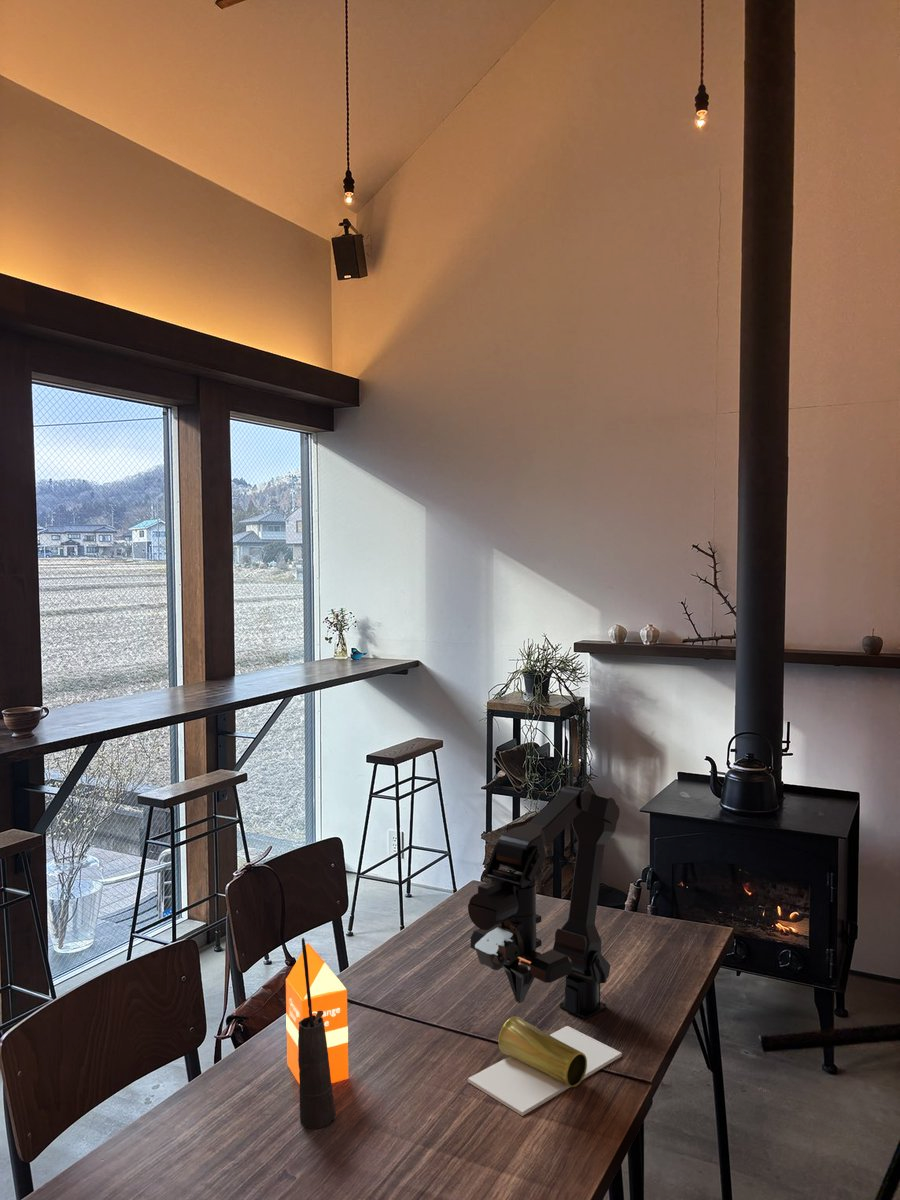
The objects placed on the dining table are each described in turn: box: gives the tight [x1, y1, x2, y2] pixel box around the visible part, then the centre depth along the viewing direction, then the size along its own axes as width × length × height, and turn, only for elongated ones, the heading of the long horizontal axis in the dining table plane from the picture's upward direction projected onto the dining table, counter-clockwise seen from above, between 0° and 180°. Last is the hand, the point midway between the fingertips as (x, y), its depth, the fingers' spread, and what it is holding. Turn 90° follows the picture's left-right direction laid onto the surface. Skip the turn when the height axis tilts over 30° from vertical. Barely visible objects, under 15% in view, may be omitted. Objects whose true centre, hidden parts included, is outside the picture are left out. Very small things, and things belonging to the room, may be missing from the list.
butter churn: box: [298, 937, 336, 1130], centre depth 134 cm, size 9×10×28 cm
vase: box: [497, 1016, 587, 1088], centre depth 145 cm, size 6×6×14 cm
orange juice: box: [285, 941, 349, 1085], centre depth 145 cm, size 8×9×20 cm
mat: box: [467, 1025, 623, 1117], centre depth 145 cm, size 24×12×1 cm, turn 132°
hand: (519, 1001), depth 150 cm, fingers closed
